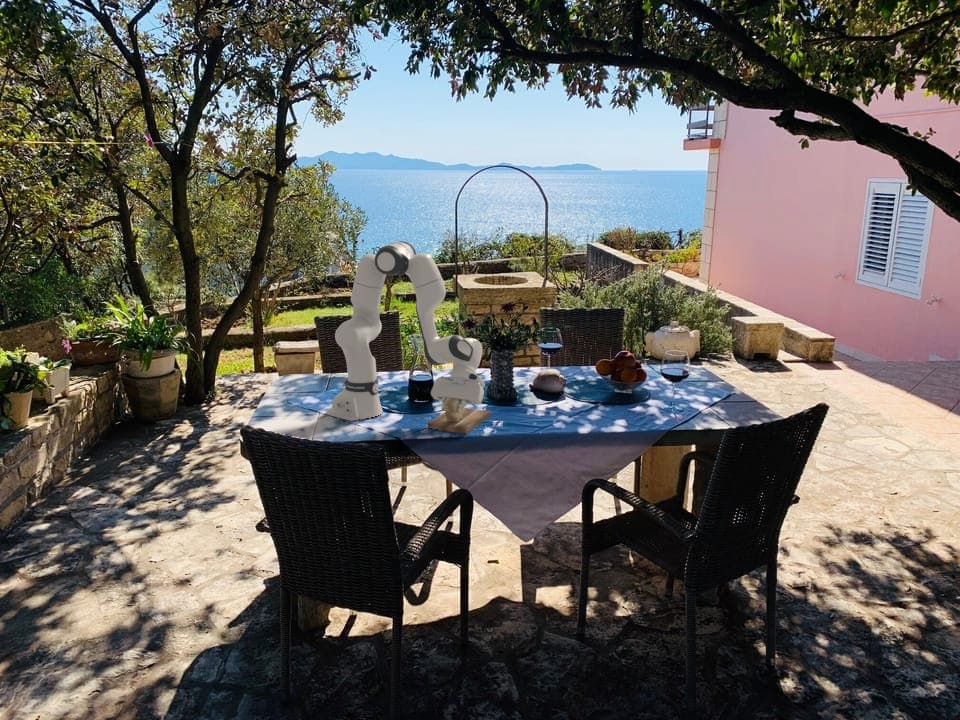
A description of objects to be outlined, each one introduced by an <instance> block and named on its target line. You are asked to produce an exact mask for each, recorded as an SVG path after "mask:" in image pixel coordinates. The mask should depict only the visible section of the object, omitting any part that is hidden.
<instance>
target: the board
mask: <svg viewBox="0 0 960 720" xmlns="http://www.w3.org/2000/svg"><path fill="white" fill-rule="evenodd" d="M461 414H462V418H463V419H460V421H459V422H450V421H447V419H446V414H445V411H444V412H443V413H441V414H440V415H437V416H436V417H435V418H434V419H432V420H430V421H429V422H428V423H427V429H428V428H432V429H431V430H435V429H438V430H437V431H443V432H451V433H456V434H464V435H467V434H468V433H470V432H471V431H472V430H474V429H475V428H477V427H478V426H479V425H481V424H483V423H484V421H486V420H488V419H489V418H490V417H491V415H492V413H491V410H483V409H478V408H477V409H476V408H468V407H464V408H463V409H462V411H461Z"/></svg>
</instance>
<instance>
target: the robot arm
mask: <svg viewBox="0 0 960 720" xmlns="http://www.w3.org/2000/svg"><path fill="white" fill-rule="evenodd" d="M404 275H407V276H408V277H409V279H410V281H411V284H412V287H413V289H414V292H415V296H416V304H415V312H416V318H417V322H418V326H419V329H420V333H421V338H422V341H423V352H424V356H425V359H426V360H427V361H428V362H429V363H430V364H431V365H433V366H442V365H444V364H447V363H452V364H453V365H454V366H453V368H452V372H451V374H450V376H444V375H442V376H439V377H438V378H436V380H435V383H434V384H433V386H432V388H431V390H430V395H431V397H432V398H433V399H434V400H437V401H438V400H439V401H441V404H442V405H441V410H442V411H444V412H445V409H444V405H443V403H444V402H445V400H446V399H447V398H453V399H459V403H461V404H460V406H459V407H457V409H456V412H458V413H461V411H462V409H463V408H466V407H467V405H468V404H472V405H480V404H482V402H483V398H484V395H485V390H484V388H485V386H486V384H485V382H484V380H483V379H482V377H481V376H480V375H478V374H477V369H478V368H479V366H480V363H481V360H482V355H483V345H482V343H481V342H480V341H479V340H478V339H476V338H472V337H463V336H462V335H460V334H453V335H448V336H445V337H440V336H439V335H438V330H437V326H436V322H435V317H434V314H435V311H436V309H437V308H438V307H439V306H440V305H441V304H442V302H443V301H444V299H445V297H446V296H447V295H446V294H447V290H446V285H445V282H444V280H443V278H442V274H441V272H440V270H439V268H438V266H437V264H436V262H435V261H434V259H433V257H432V256H431V255H430V254H429V253H425V252H421V253H417V252H416V249H415V247H414V246H413V245H412V244H411V243H409V242H407V241H397V242H392V243H389V244H387V245H384V246H383V247H382V246H381V248H380V249H379V250H378V251H377V252H376V254H374V253H368V254H365V255H363V256H362V257H361V258H360V261H359V263H358V266H357V269H356V273H355V276H354V281H353V287H352V289H351V290H352V291H351V294H350V302H351V304H352V309H353V310H352V312H353V313H352V316H351V318H350V319H348V320H346V321H344V322H342V323H341V324H340V325H339V326H338V327H337V329H335V332H334V333H335V334H334V339H335V342H336V343H337V345H338V347H340V348H341V350H342V351H343V354H344V358H345V362H346V368H347V379H346V380H345V381H343V382H342V386H344V388H343V390H341V391H340V392H339V393H338V394H337V395H336V396H334V397H333V399H332V403H331V404H332V405H331V406H332V407H330V408H328V409H327V410H326V415H327V416H331V417H334V418H339V419H342V420H346V421H350V422H354V420H355V421H358V420H359V419H360V420H367V419H366V418H369V419H372V418H371V417H374V418H376V417H375V416H377V417H379V416H381V415H382V414H383V413H384V411H383V408H382V405H381V401H380V396H379V378H378V377H377V364H376V363H377V362H376V358H375V357H374V356H373V355H372V353H371V350H370V345H369V344H370V342H372V341H374V340H375V339H376V338H377V337H378V336H379V334H380V333H381V331H382V327H383V325H382V322H381V320H380V307H381V299H382V295H383V291H384V286H385V280H386V277H387V276H404ZM382 412H383V413H382ZM380 414H381V415H380ZM378 415H379V416H378Z"/></svg>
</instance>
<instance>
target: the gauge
mask: <svg viewBox="0 0 960 720" xmlns="http://www.w3.org/2000/svg"><path fill="white" fill-rule="evenodd" d="M443 405H444V409H445V411H444V412H445V414H446V419H447V421H450V422H459V421H460V419H463V418H462V414H461V413H458V412H456V409H457V407H459V406H460V405H461V404H460V402H459V399H453V398H447V399H446V400H445V402H444V403H443Z"/></svg>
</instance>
